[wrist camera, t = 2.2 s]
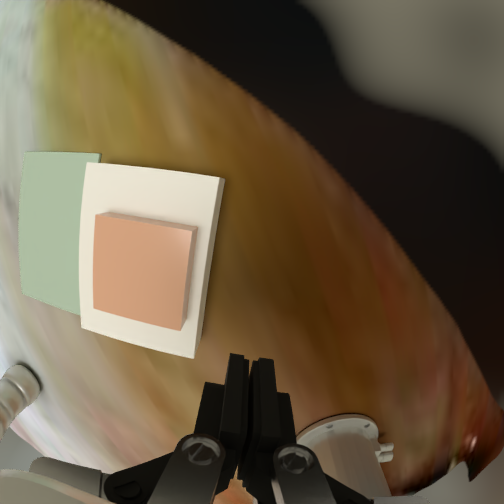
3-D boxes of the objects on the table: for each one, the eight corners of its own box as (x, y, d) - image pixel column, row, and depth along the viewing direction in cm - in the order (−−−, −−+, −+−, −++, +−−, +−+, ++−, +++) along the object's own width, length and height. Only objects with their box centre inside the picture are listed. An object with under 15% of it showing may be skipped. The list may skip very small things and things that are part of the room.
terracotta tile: (198, 226, 22) (192, 231, 20) (186, 319, 23) (180, 331, 21) (108, 211, 21) (95, 214, 19) (104, 299, 23) (93, 308, 21)
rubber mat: (101, 154, 24) (99, 153, 24) (92, 317, 28) (90, 319, 28) (26, 151, 24) (24, 151, 23) (23, 292, 28) (22, 293, 27)
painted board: (225, 179, 25) (219, 177, 21) (201, 337, 28) (193, 358, 24) (107, 164, 24) (86, 162, 21) (99, 312, 28) (81, 327, 24)
